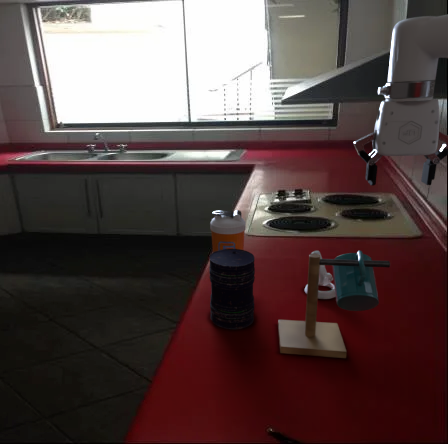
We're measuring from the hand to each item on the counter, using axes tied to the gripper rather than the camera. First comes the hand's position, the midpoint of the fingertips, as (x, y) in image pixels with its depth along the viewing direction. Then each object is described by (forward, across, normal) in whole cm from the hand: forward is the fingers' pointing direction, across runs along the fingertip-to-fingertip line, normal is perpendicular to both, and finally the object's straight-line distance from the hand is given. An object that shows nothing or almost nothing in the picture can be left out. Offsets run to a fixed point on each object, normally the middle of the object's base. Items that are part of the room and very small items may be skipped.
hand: (398, 183), depth 81 cm
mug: (+19, -8, -12) cm, 24 cm away
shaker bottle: (+31, -34, +14) cm, 48 cm away
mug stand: (+30, -12, -10) cm, 34 cm away
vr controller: (+31, -11, +12) cm, 35 cm away
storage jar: (+31, -32, -3) cm, 44 cm away
